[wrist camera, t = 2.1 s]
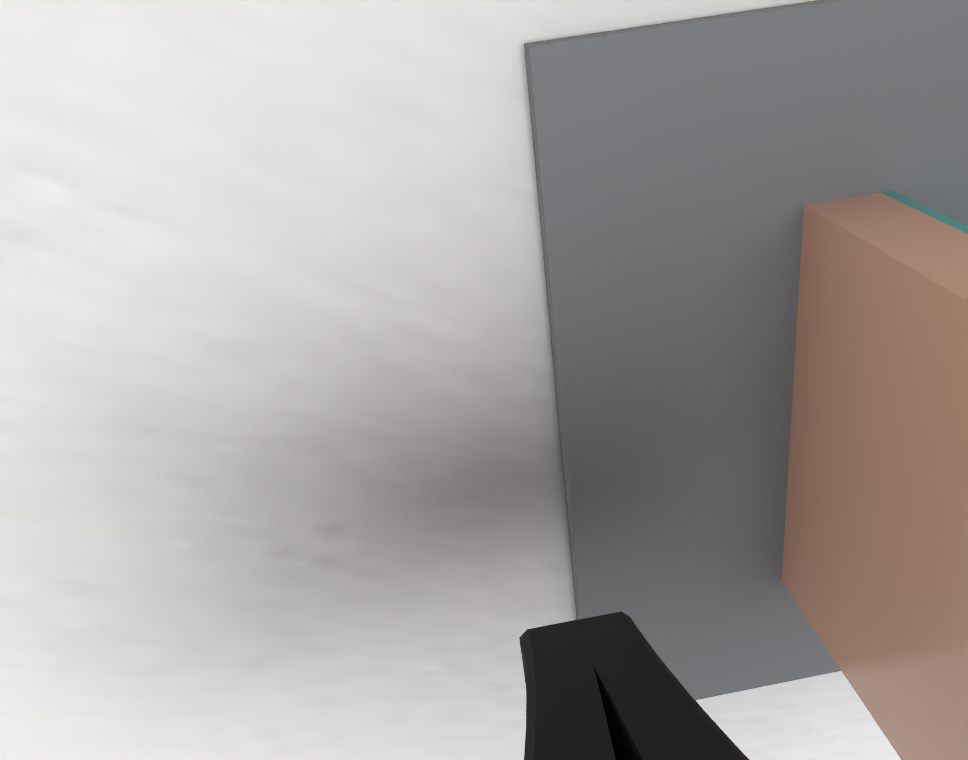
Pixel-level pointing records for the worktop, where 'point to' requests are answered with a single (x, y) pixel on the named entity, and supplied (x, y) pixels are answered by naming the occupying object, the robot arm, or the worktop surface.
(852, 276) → the glazed tile
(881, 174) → the rubber mat
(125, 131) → the worktop surface
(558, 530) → the worktop surface
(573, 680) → the robot arm
